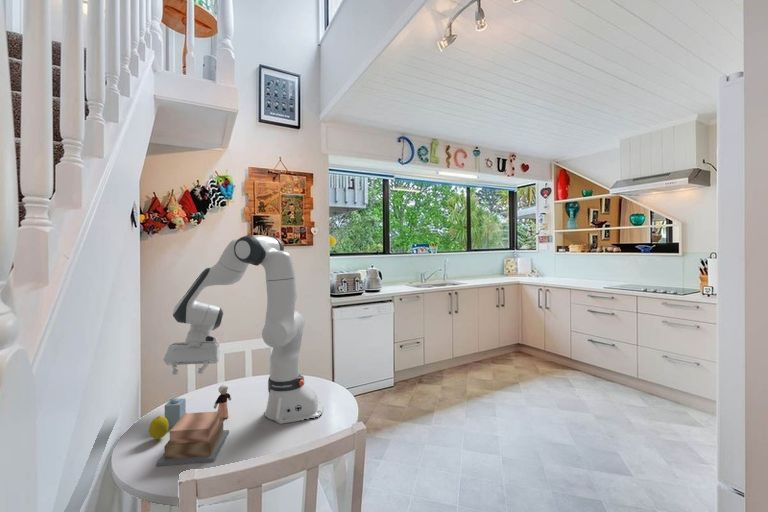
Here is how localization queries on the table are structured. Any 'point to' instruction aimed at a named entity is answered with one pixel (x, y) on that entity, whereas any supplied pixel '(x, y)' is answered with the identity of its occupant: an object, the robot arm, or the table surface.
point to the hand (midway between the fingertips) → (187, 373)
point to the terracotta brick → (194, 435)
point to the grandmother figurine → (222, 402)
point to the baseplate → (196, 459)
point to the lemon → (158, 427)
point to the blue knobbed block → (175, 410)
